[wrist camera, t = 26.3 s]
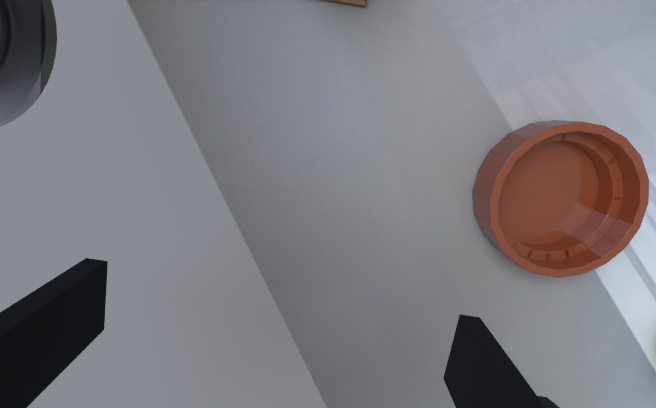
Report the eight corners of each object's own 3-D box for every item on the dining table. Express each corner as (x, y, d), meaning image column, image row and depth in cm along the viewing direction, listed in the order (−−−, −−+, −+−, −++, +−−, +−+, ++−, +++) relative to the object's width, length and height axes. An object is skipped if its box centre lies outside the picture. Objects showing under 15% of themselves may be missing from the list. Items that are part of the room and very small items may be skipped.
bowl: (457, 247, 45) (473, 264, 40) (491, 109, 42) (513, 110, 37) (588, 268, 46) (619, 287, 41) (631, 133, 43) (671, 137, 38)
